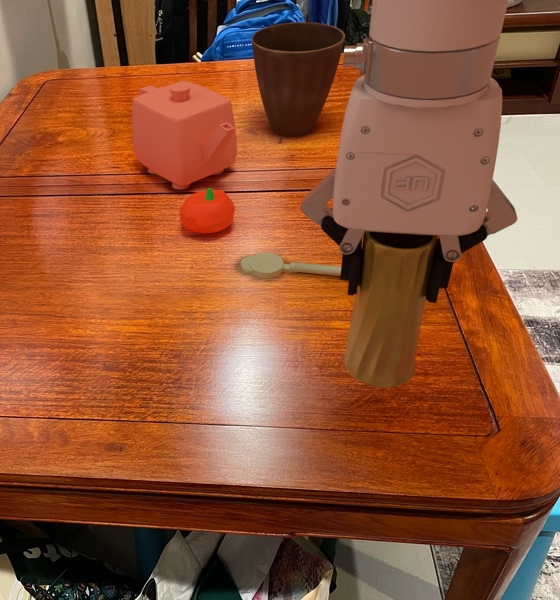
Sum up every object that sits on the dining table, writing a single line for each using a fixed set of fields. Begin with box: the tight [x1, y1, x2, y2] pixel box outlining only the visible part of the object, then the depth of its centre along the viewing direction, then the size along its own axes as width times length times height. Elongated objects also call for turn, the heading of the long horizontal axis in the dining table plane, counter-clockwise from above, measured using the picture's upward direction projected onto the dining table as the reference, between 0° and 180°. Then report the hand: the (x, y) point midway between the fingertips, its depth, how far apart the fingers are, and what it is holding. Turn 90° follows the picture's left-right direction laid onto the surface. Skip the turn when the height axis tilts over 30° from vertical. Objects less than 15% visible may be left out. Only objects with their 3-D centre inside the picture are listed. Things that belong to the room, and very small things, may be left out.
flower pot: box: [251, 21, 346, 138], centre depth 106 cm, size 15×15×16 cm
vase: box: [343, 231, 439, 389], centre depth 52 cm, size 6×6×14 cm
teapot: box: [131, 80, 238, 190], centre depth 97 cm, size 22×13×14 cm, turn 35°
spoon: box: [240, 252, 341, 279], centre depth 78 cm, size 19×4×1 cm, turn 74°
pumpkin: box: [179, 187, 236, 234], centre depth 86 cm, size 7×8×6 cm
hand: (391, 286), depth 50 cm, fingers closed on vase, 5 cm apart
